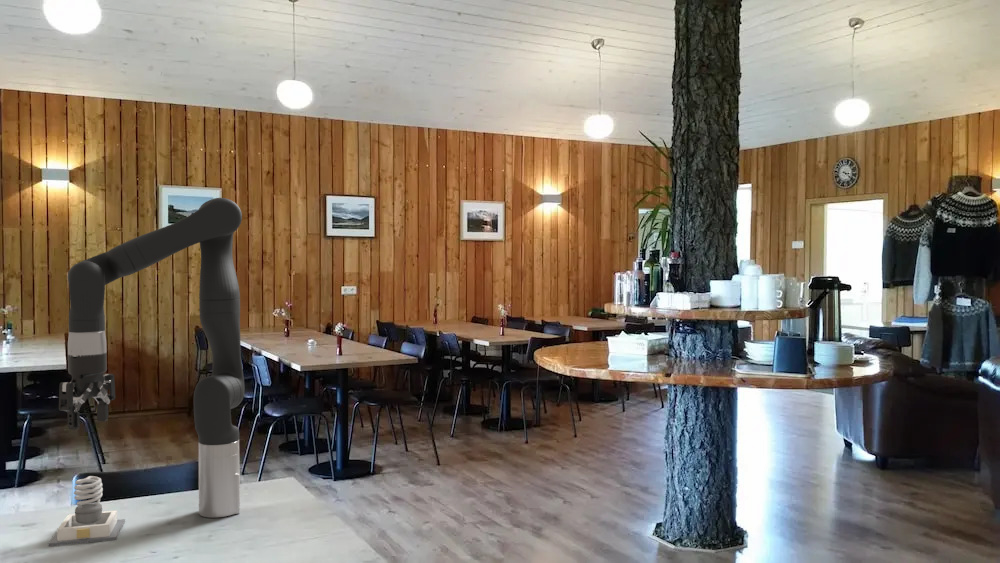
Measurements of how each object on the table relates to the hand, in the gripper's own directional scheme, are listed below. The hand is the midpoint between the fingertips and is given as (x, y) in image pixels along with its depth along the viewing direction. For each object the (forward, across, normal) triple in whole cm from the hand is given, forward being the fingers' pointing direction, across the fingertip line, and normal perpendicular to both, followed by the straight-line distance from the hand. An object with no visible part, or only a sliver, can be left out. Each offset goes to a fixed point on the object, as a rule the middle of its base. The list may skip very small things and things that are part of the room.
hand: (88, 425), depth 170 cm
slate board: (+24, 0, 0) cm, 24 cm away
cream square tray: (+24, 0, 0) cm, 24 cm away
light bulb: (+24, 0, 0) cm, 24 cm away
